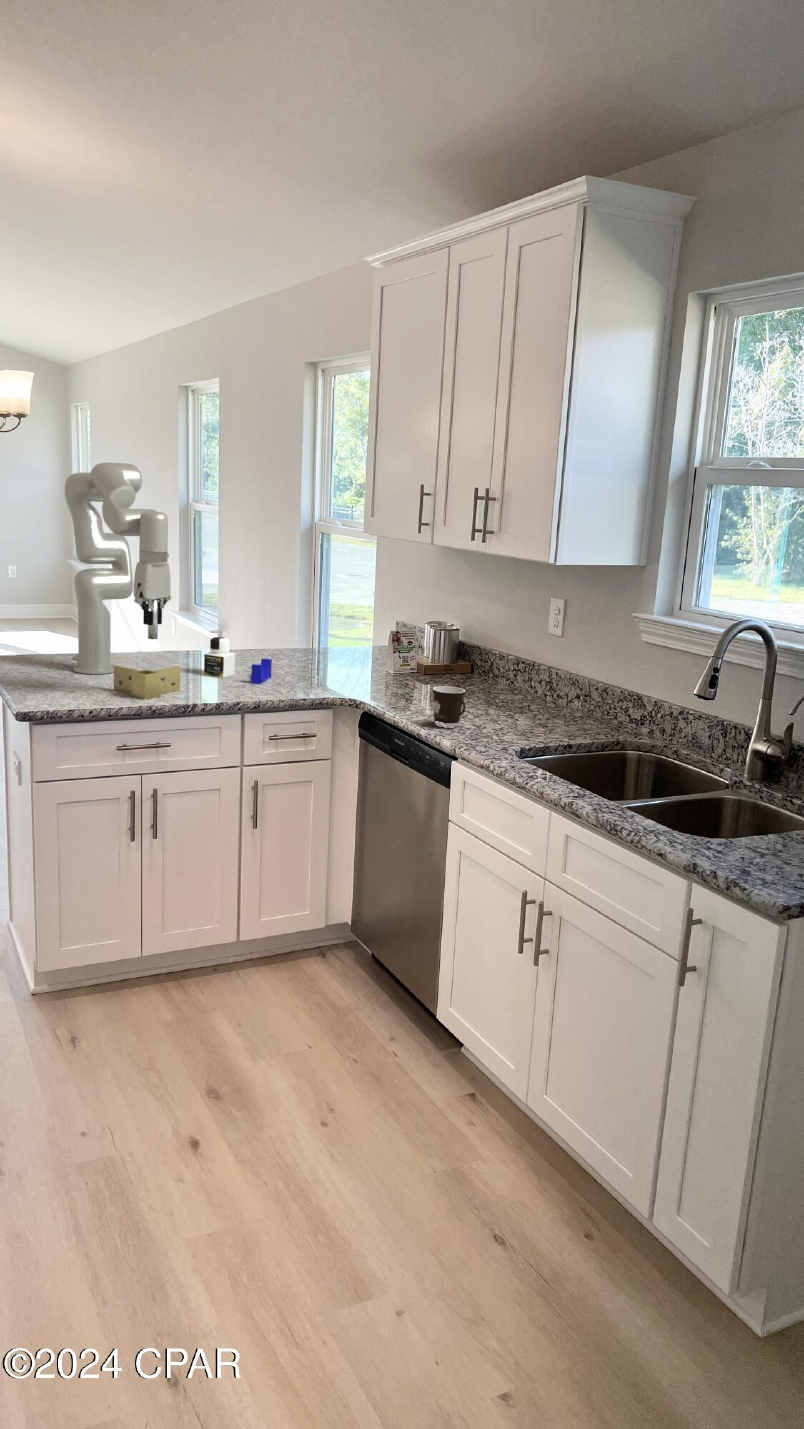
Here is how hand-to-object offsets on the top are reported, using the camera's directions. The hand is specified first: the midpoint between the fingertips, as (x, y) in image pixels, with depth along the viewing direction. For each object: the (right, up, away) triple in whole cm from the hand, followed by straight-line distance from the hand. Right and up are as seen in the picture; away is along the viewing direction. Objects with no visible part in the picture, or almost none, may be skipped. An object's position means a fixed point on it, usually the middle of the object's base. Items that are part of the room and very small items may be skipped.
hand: (152, 623), depth 288 cm
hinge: (-4, -19, +11) cm, 22 cm away
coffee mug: (+81, -29, -9) cm, 87 cm away
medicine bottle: (+12, -13, +39) cm, 43 cm away
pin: (0, -4, +1) cm, 4 cm away
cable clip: (+25, -15, +36) cm, 46 cm away
